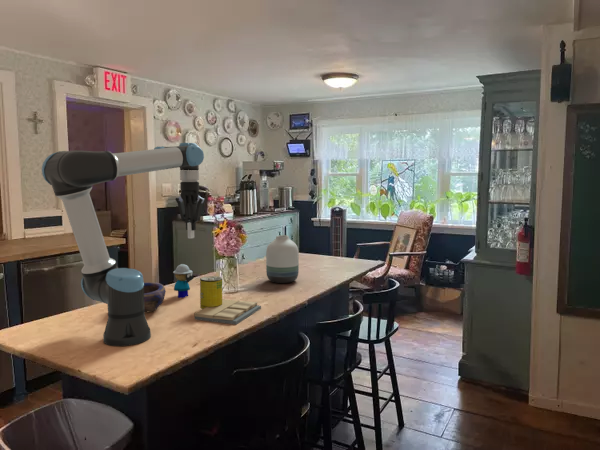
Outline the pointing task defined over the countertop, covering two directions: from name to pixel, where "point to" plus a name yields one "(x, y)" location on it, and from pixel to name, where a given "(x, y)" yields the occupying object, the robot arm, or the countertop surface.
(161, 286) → the bowl
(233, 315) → the tan flat block
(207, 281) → the beverage can
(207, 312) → the underlay
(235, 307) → the plank far
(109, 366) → the countertop surface
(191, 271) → the toy
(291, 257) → the vase
